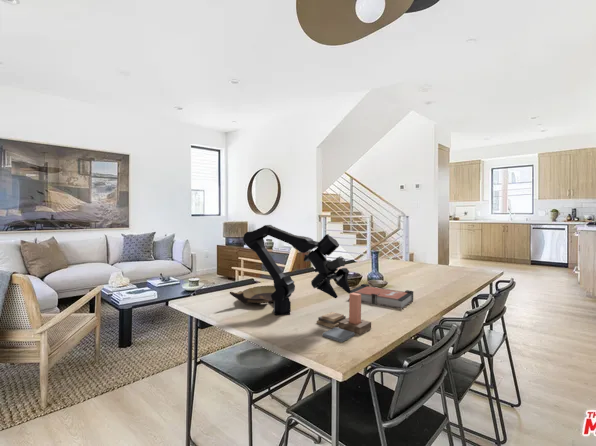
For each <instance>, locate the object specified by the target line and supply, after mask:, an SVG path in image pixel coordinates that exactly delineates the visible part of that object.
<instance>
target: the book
mask: <svg viewBox="0 0 596 446" xmlns="http://www.w3.org/2000/svg"><path fill="white" fill-rule="evenodd" d="M350 290H351V293H358V294H361V303H362V302H363V303H369V304H372V305H379V306H385V307H390V308H394V309H395V308H396V309H401V310H403V309H404V308H405V307H407V306H408V305H409V304H411V303H412V302H413V301H414V291H413V290H408V289H407V290H405V291H401V290H396V289H389V288H383V287H382V288H381V287H377V286H376V287H374V286H370V284H366V283H362V284H360V286H358V287H356V288H352V289H350Z"/></svg>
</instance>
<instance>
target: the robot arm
mask: <svg viewBox="0 0 596 446" xmlns="http://www.w3.org/2000/svg"><path fill="white" fill-rule="evenodd" d="M267 237H271V238H274V239H277V240H278V241H282V242H284V243H286V244H288V245H290V246H291V247H292V248H294V249H295V250H297V251H298V252H300V253H302V254H303V253H308V254H304V257H303V262H310V263H311V264H312V266H313V267H314V268H315V269H314V272H315V273H317V274H316V276H315V277H314V278H313V279H312V280H311V281H310V282H311V286H312V287H313V289H317V290H319V291H321V292H323V293H326V294H327V295H329V296H331V297H333V298H334V299H337V298H338V297H339V296H338V295H337V293H336V290H335V289H334V288H333V286H332V283H331V280H334V281H335V282H336V284H337V286H339V287H340V288H341V289H343V290H344V291H345V292H346V293H348V294H350V293H351V290H352V289H351V287H350V284H349V280H348V276H349V273H350V271H349V269H348V268H347V267H345V266H346V259H345V257H343V256H338V257H336V258H335V259H332V260H330V259H327V258H326V257H325V256H328V257H329V256H330V255H332V253H334V252H335V251H336V250H337V249H338V248H339V247H340V244H339V242H338V241H337V240H336V238H333V237H332V236H331V235H330V233H329V234H328V233H327V234H325V235H324V236H323V237H322V238H321V239H320V240H319V241H316V240H314V239H313V238H311V237H309V236H303V235H295V234H293V233H291V232H288V231H286V230H283V229H281V228H278V227H276V226H274V225H272V224H264V225H263V226H261V227H259V228H257V229H255V230H251V231H247V232H245V233H244V235H243V238H242V241H243V243H244V244H245V245H246V246H247V247H248V248H249V250H252V251H253V252H254V253H256V255H257V257H258V259H259V261H261V263H262V265H263V266H264V268H265V270H266V271H267V272H268V274H269V275H270V277H271V279H272V280H273V281H272V282H273V286H274V287H275V290H276V291H275V292H274V293H273V294H272V295H271V298H272V300H274V301H273V309H272V312H273V314H274V315H275V316H282V315H291V310H292V309H291V306H292V305H291V301H290V297H291V296H292V293H294V292H295V290H296V285H295V280H293V279H292V276H291V275H290V274H287V275H286V274H284V272H282V270H281V268H280V267H279V265H278V264H277V263H276V261H275V260H274V258H273V257H272V255H271V253H270V252H269V251H268V249H267V248H266V245H265V240H264V238H267ZM313 249H314V250H313ZM341 267H342V268H341Z"/></svg>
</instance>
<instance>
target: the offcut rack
mask: <svg viewBox="0 0 596 446" xmlns="http://www.w3.org/2000/svg"><path fill="white" fill-rule="evenodd" d="M346 317H347V316H346V315H344V314H342V313H338V312H333V311H331V312H328V313H326V314H323V315H321V316H318V317H317V318H318V319H317V320H316V324H317V325H320V326H324V327H327V328H331V329H333V328H335V327H337V328H340V329H344V330H347V331H351V332H354V333H355V334H356V335H363V334H364V333H366V332H368V331H369V330H372V321H368V320H365V319H361V323H360V324H358V325H357V324H354V323H350V322H349V317H347V318H346Z"/></svg>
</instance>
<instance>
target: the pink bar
mask: <svg viewBox="0 0 596 446" xmlns="http://www.w3.org/2000/svg"><path fill="white" fill-rule="evenodd" d="M348 294H349V293H348ZM348 296H349V298H348V300H349V301H348V302H349V303H348V304H349V305H348V307H349V309H348V310H349V314H348V315H349V316H348V318H349V322H350V323H354V324H357V325H358V324H360V323H361V320H362V302H361V294H358V293H350V294H349V295H348Z"/></svg>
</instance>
